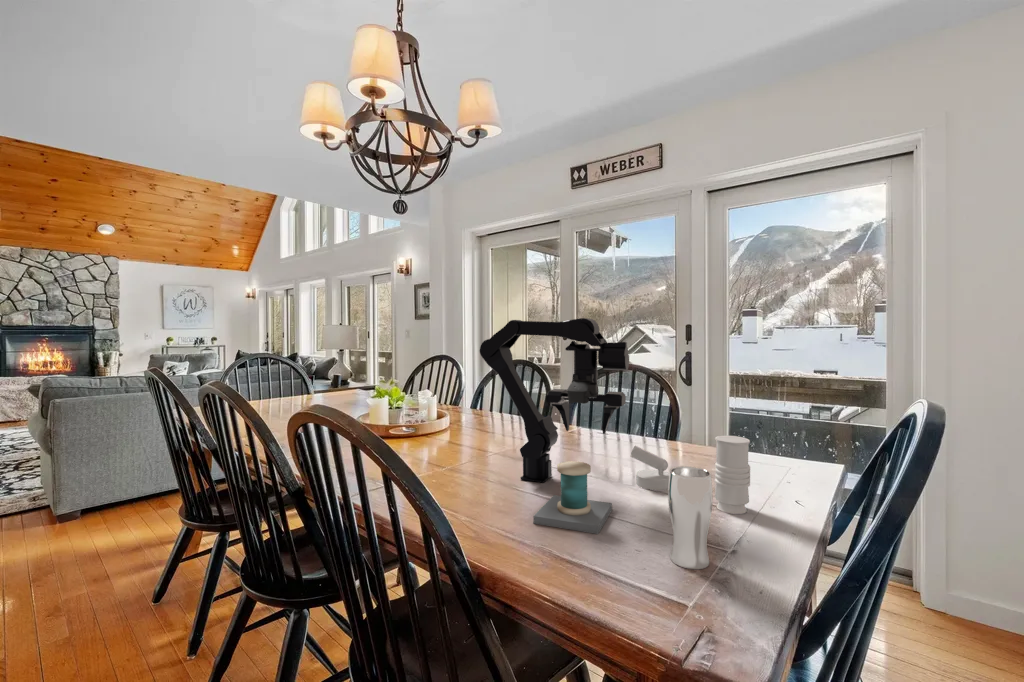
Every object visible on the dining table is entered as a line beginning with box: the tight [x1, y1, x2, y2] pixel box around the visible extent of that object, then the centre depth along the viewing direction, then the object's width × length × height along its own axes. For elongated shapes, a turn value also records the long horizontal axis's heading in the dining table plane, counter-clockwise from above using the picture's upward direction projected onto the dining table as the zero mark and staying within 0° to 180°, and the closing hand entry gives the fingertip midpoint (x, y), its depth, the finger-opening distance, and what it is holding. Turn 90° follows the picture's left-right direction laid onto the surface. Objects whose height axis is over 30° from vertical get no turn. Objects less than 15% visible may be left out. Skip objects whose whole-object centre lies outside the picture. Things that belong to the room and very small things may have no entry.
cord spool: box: [556, 460, 592, 515], centre depth 101 cm, size 7×7×9 cm
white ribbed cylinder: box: [713, 435, 751, 515], centre depth 104 cm, size 7×7×15 cm
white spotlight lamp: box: [630, 444, 670, 491], centre depth 121 cm, size 9×10×10 cm
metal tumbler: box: [667, 465, 714, 570], centre depth 81 cm, size 7×7×15 cm
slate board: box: [532, 494, 613, 535], centre depth 101 cm, size 13×13×2 cm
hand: (585, 432), depth 121 cm, fingers open, 9 cm apart
